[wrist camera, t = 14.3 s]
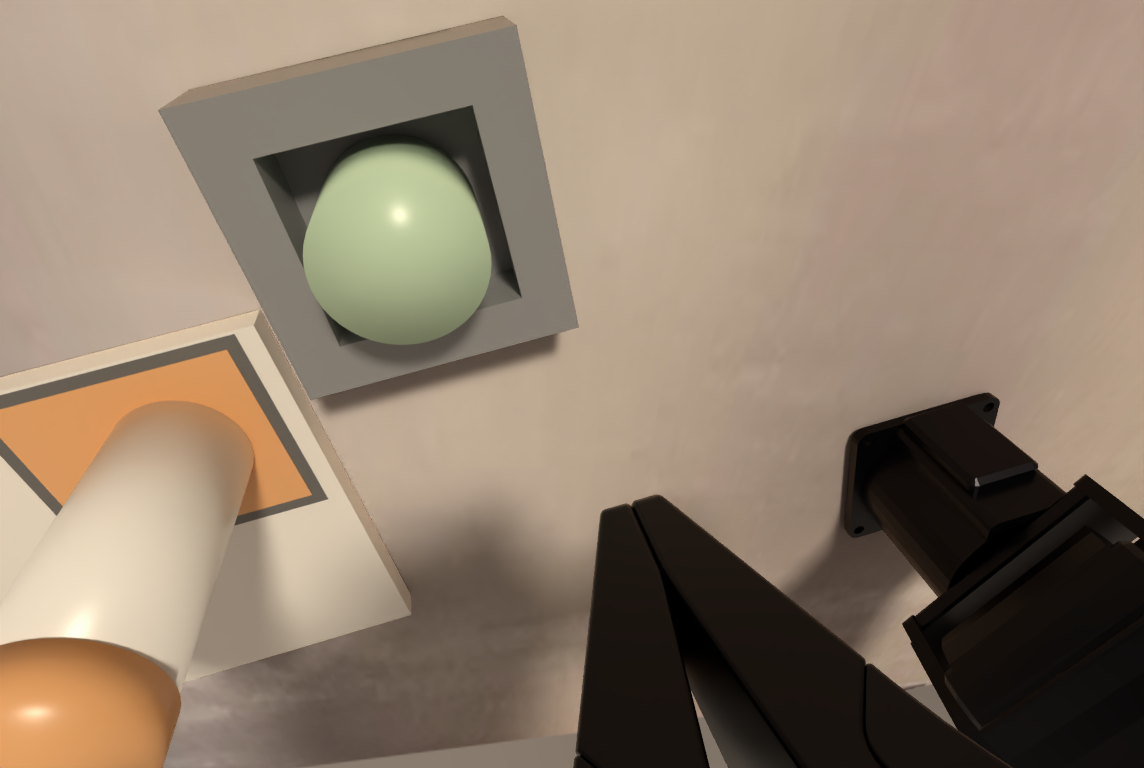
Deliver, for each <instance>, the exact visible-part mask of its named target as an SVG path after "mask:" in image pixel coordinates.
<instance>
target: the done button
mask: <svg viewBox="0 0 1144 768" xmlns="http://www.w3.org/2000/svg"><path fill="white" fill-rule="evenodd" d="M303 264H304V270H305V275H306V279H307V281H308V284H309V286H310V289H311V291H312V293H313V294H314V296H315V298H316V300H317V301H318V302H319V304H320V305H321V306H322V308H323V309H324V310H325V311H326V312H327V313H328V314H329V315H330V316H331V317H332V318H333V319H334V320H335V321H336V322H338V323H339V324H340V325H341V326H343V327H345V328H346V329H348V330H349V331H351V332H353V333H355V334H357V335H359V336H361V337H364V338H367V339H369V340H372V341H376V342H380V343H386V344H394V345H410V344H419V343H424V342H428V341H431V340H434V339H437V338H440V337H442V336H444V335H446V334H449V333H450V332H452V331H453V330H455V329H457V328H458V327H459V326H461V325H462V324H463V323H464V322H465V321H467V320H468V319H469V317H470V316H471V315H472V314H473V313H474V312H475V310H476V309H477V308H478V306H479V305H480V303H481V301H482V299H483V298H484V296H485V293H486V291H487V288H488V285H489V280H490V276H491V252H490V247H489V243H488V239H487V235H486V232H485V228H484V225H483V221H482V218H481V214H480V211H479V207H478V203H477V200H476V196H475V193H474V190H473V188H472V185H471V183H470V181H469V179H468V177H467V176H466V174H465V173H464V171H463V170H462V168H461V167H460V166H459V165H458V164H457V162H456V161H455V160H454V159H453V158H452V157H450V156H449V155H448V154H447V153H446V152H444V151H443V150H441V149H440V148H438V147H437V146H435V145H433V144H431V143H429V142H427V141H424V140H421V139H419V138H415V137H410V136H405V135H382V136H377V137H372V138H369V139H366V140H363V141H361V142H359V143H357V144H355V145H354V146H352V147H351V148H349V149H348V150H346V151H345V152H344V153H343V154H342V155H341V156H340V157H339V158H338V159H337V160H336V161H335V162H334V164H333V165H332V166H331V168H330V170H329V172H328V173H327V175H326V178H325V180H324V183H323V186H322V189H321V191H320V194H319V197H318V200H317V203H316V206H315V208H314V211H313V214H312V217H311V220H310V223H309V225H308V228H307V231H306V235H305V239H304V244H303Z"/></svg>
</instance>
